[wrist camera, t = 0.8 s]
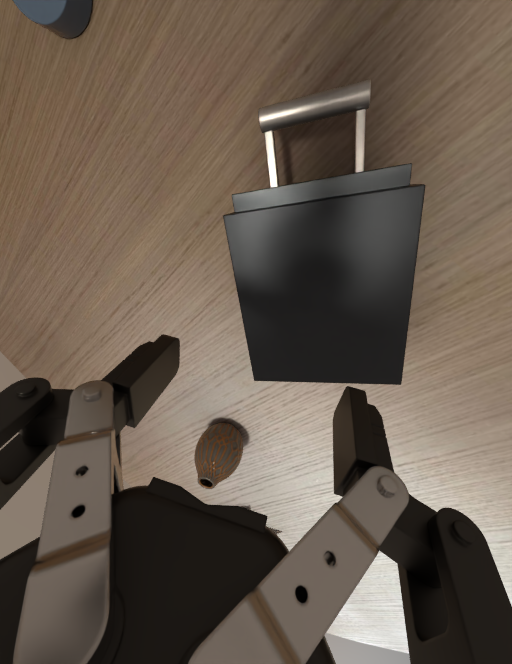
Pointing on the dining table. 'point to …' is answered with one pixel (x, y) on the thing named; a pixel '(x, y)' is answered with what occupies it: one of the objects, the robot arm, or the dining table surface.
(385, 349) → the cabinet
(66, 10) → the cylinder
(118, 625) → the robot arm
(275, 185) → the drawer
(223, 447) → the vase
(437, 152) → the dining table surface
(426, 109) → the dining table surface
